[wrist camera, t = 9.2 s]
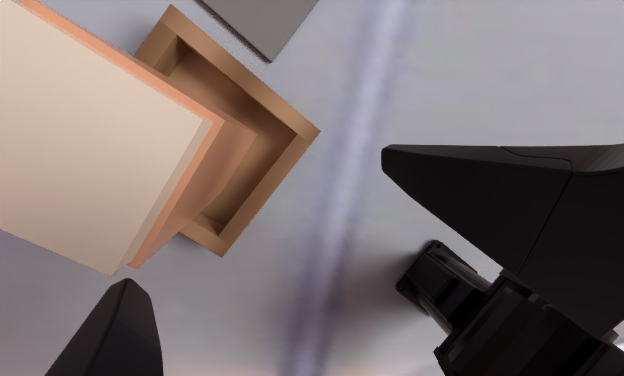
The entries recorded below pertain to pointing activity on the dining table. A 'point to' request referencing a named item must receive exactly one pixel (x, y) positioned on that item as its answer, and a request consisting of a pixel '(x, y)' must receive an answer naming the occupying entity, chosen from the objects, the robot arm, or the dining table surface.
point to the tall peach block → (101, 144)
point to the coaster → (263, 20)
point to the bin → (240, 105)
